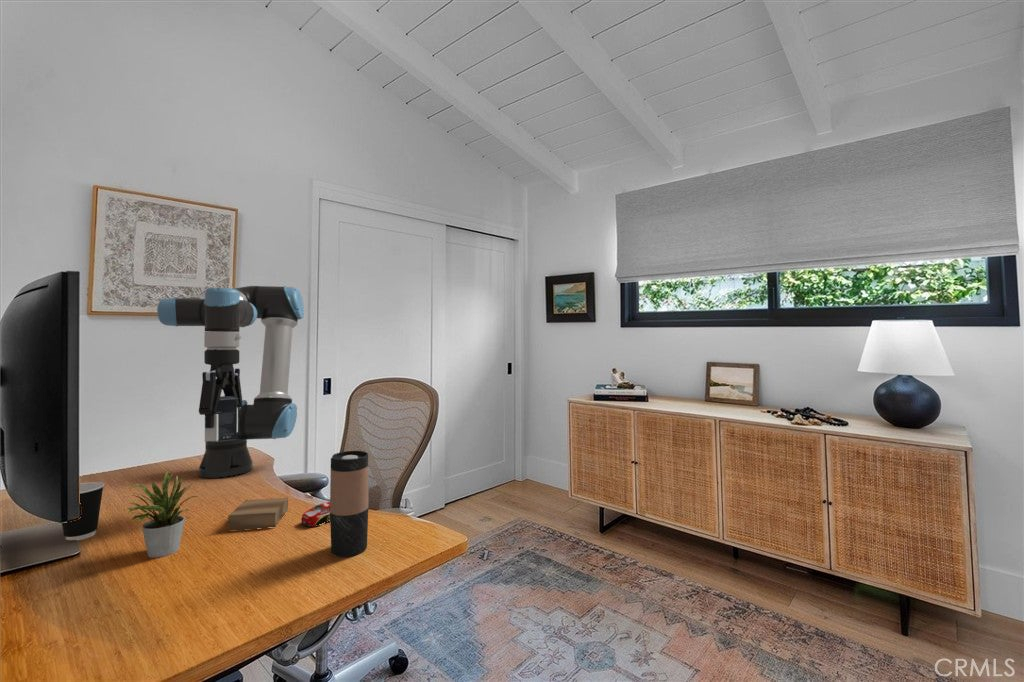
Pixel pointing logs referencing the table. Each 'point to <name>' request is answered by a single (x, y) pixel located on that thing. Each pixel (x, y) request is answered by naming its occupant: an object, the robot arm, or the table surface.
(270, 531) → the table surface
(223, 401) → the box
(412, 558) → the table surface
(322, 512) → the race car
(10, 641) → the table surface
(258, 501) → the walnut pedestal
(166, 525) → the house plant
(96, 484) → the dixie cup
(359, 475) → the travel mug
